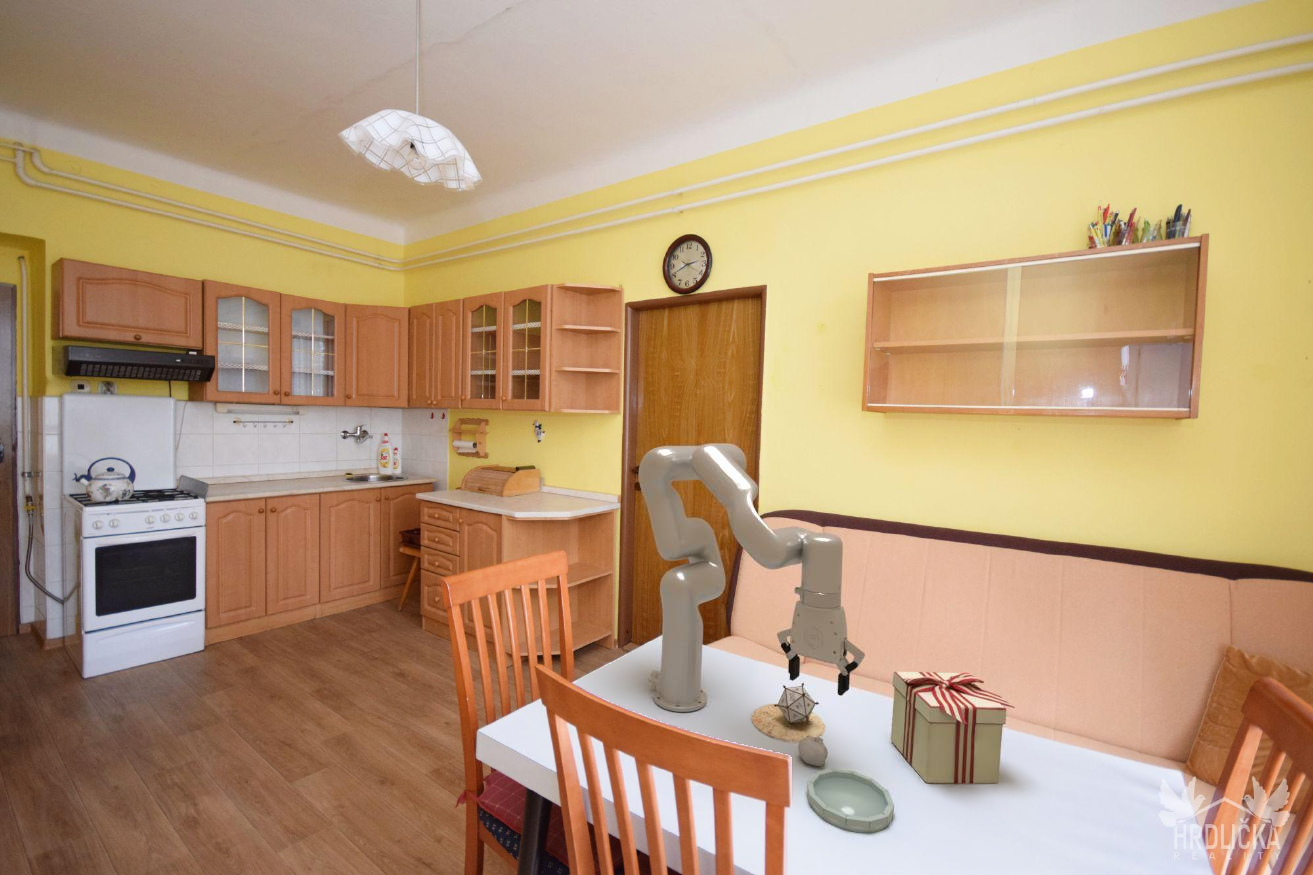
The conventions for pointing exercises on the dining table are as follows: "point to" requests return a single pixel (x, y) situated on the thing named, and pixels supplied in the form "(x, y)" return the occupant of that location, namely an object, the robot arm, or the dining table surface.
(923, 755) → the gift box
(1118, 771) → the dining table surface
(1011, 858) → the dining table surface
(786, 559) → the robot arm
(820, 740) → the garlic
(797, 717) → the game die
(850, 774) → the plate
